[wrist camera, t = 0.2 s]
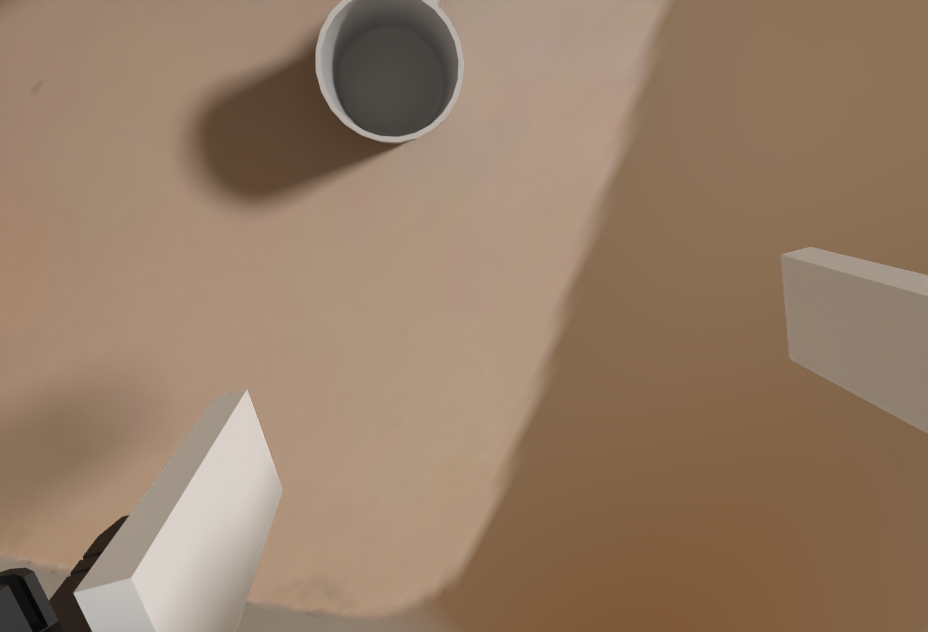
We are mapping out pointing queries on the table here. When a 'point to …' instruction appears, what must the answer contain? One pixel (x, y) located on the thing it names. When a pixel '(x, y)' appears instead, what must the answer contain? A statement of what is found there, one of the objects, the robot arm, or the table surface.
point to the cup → (389, 67)
